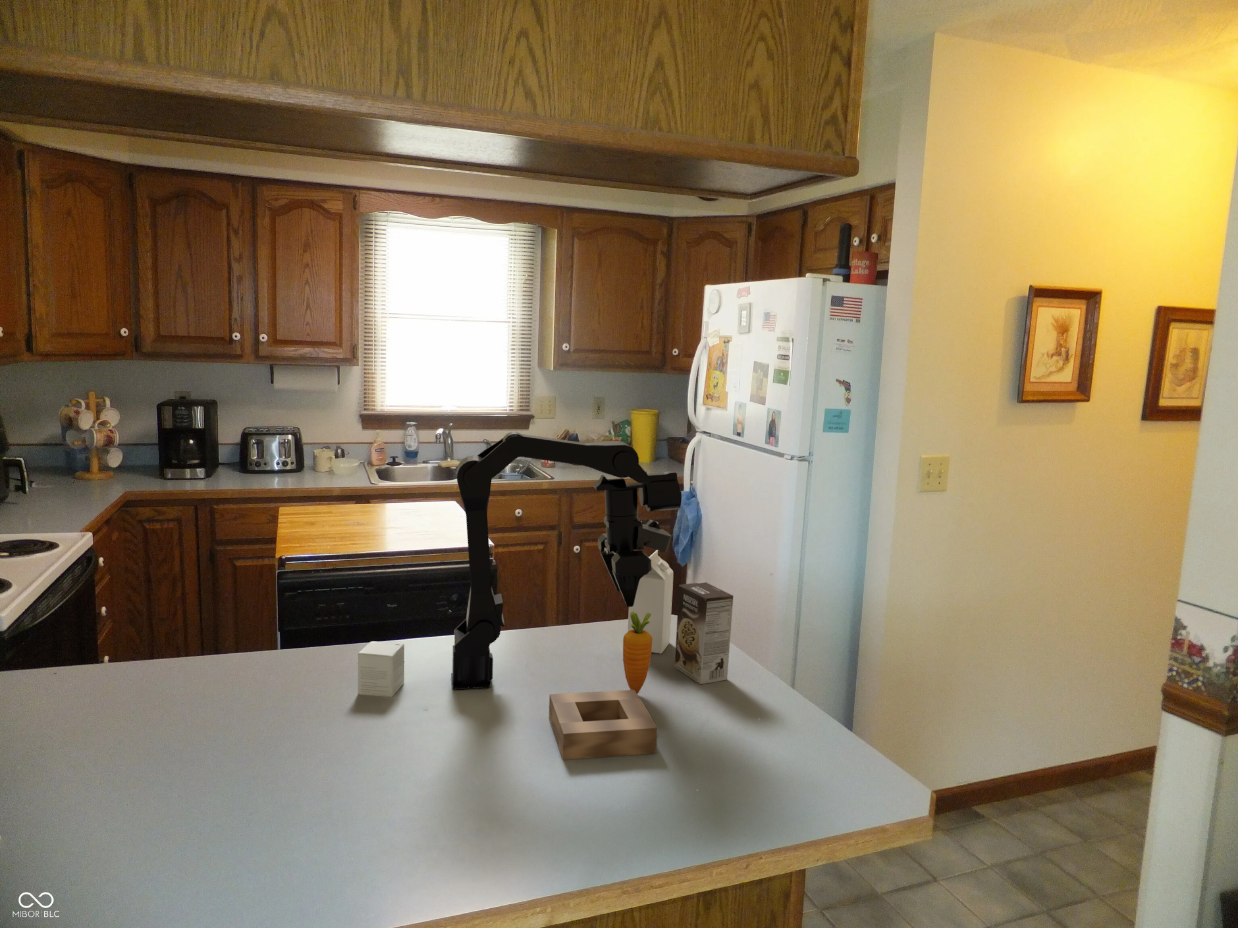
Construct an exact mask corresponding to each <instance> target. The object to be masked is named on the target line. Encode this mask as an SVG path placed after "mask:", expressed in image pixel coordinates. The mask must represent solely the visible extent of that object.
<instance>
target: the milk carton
mask: <svg viewBox="0 0 1238 928" xmlns="http://www.w3.org/2000/svg"><path fill="white" fill-rule="evenodd" d="M658 554H659V550H657V549H655V551H654V552H653V553H652V554H650V556H648V557H649V558H650V559H651V571H650V572H649V573H648V574H647V575H644V576H643V577H642V578H641V579H640V581H639V584H638V588H637V592H636V597H635V601H634V605H633V607H628V613H627V614H628V616H627V617H628V618H627V620H628V621H627V632H628V631H629V630H634V629H633V628H632V627H631V624H633V623H632V620H631V617H630V613H631V612H634V613H637V615H638V618H639V620H640V622H641V623H642V622H643V620H644V617H645V616H646V614H647V613H650V614H651V616H650V617H649V619H648V620H649V621H650V623H648V624H646V626H645V627H644V629H643V630H645V631H646V632H648V633H649V634H650V635H651V636H652V650H651V653H655V654H662V653H664V651H665V649H666V648H667V647H668V645H669V644H670V641H671V623H672V622H671V621H672V608H673V607H672V606H673V605H672V603H673V588H674V587H673V586H674V571H673V569H672V568H671V567H670V564H668V562H667V561H665V560H664V559H662V558H661V556H659V555H658ZM637 627H638V626H637Z"/></svg>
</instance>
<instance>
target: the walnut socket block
mask: <svg viewBox="0 0 1238 928" xmlns="http://www.w3.org/2000/svg"><path fill="white" fill-rule="evenodd" d="M548 704H549V705H548V719H549V722H550V726H551V728H552V732H553V735H554V738H555V742H556V744H557V747H558V750H559V753H560V757H561V759H562V761H566V760H580V759H581V760H583V759H594V758H609V757H623V756H624V757H625V756H638V755H652V754H653V755H654V754H656V753H657V743H658V741H657V740H658V727H657V725H656V723H655V721H654V720H653V718H652V716H651V715H650V712H649V711H648V710H647V708H646V706H645V705H644V703H643V702H642V700H641V698H640V696H639V695H638V694H637V693H636V691H635V690H630V689H625V690H624V689H623V690H603V691H587V692H586V691H585V692H584V691H583V692H568V693H567V692H566V693H565V692H564V693H562V692H561V693H550V694H549V699H548Z"/></svg>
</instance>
